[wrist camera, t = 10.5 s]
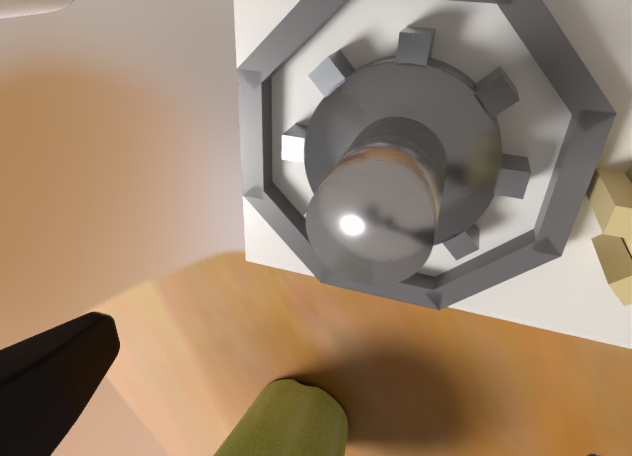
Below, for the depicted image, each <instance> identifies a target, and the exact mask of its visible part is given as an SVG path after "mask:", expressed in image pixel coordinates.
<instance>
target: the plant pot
mask: <svg viewBox="0 0 632 456" xmlns="http://www.w3.org/2000/svg"><path fill="white" fill-rule="evenodd" d="M347 435H348V420H347V417H346V414H345V412H344V410H343V409H342V407H341V406H340V405H339V403H338V402H337V401H336V400H335V399H334V398H333V397H332V396H330V395H329V394H328V393H326V392H325V391H324V390H322V389H320V388H318V387H310V386H305V385H302V384H300V383H298V382H296V381H295V380H293V379H283V380H277V381H274V382H272V383H270V384H268V385H267V386H266V387H265V388H264V389H263V390H262V392H261V393H260V394H259V396H258V397H257V398H256V400H255V401H254V402H253V404H252V405H251V406H250V408H249V409H248V410H247V412H246V413H245V415H244V416H243V417H242V419H241V420H240V421H239V423H238V424H237V425H236V427H235V428H234V429H233V431H232V432H231V433H230V435H229V436H228V437H227V439H226V440H225V441H224V442H223V444H222V445H221V446H220V448H219V449H218V450H217V452H216V453H215V454H214V456H344V455H345V449H346V442H347Z"/></svg>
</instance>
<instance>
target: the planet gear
mask: <svg viewBox="0 0 632 456" xmlns="http://www.w3.org/2000/svg"><path fill="white" fill-rule="evenodd" d="M435 30H436V29H431V28H419V27H407V26H406V27H405V28H404V29H403V30H401V31H400V32H399V40H398V48H397V56H389V57H385V58H381V59H377V60H375V61H372V62H370V63H367V64H365V65H363V66H361V67H360V68H358V69H356V70H355V69H354V68H353V66H352V65H351V64H350V62H349V61H348V60H347V59H346V57H345V56H344V55H343V53H342V52H341V51H340V50H338V51H336V52H334V53H333V54H331V55H329V56H328V57H327V58H326V59H325V60H323V61H322V62H321V63H320V64H319V65H318V66H317V67H316V68H315V69H314V70H313V71H312V72H311V73H310V74H309V75H308V77H309V78H310V79H311V80H312V82H313V83H314V84H315V85H316V87H317V88H318V89H319V90H320V92H321V93H322V94H323V95H324V98H323V99H322V101H321V102H320V103H319V105H318V106H317V108H316V110H315V111H314V113H313V115H312V117H311V120H310V122H309V125H302V124H294V125H293V126H292V127H291V128H289V129H288V130H287V131H286V132H285V133H284V134H282V159H284V160H290V161H296V162H302V163H304V165H305V171H306V175H307V179H308V182H309V185H310V187H311V190H312V192H313V194H314V195H313V197H312V198H311V200H310V203H309V205H308V208H307V210H306V212H305V213H304V216H305V217H306V231H307V235H308V239H309V242H310V244H311V246H312V248H313V250H314V251H315V253H316V254H317V256H318V257H319V258H320V260H321V261H322V262H323V263H324V264H325V265H326V266H327V267H329V268H330V269H331V270H332V271H334V272H335V273H337V274H338V275H340V276H342V277H344V278H346V279H348V280H351V281H353V282H357V283H360V284H365V285H375V286H380V285H389V284H394V283H398V282H401V281H403V280H405V279H407V278H409V277H411V276H412V275H414V274H415V273H416V272H418V271H419V270H420V269H421V268H422V267H423V265H424V264H425V263H426V261H427V260H428V258H429V256H430V254H431V251H432V248H433V246H435V245H438V244H441V243H443V245H444V246H445V247H446V248H447V250H448V251H449V252H450V253H451V255H452V256H453V257H454V258H455V260H456V261H457V260H459V259H461V258H463V257H465V256H467V255H469V254H471V253H473V252H475V251H477V250H479V237H480V230H479V229H478V227H477V226H476V225H475V224H474V223H475V222H476V221H477V220H478V219H479V218H480V217H481V216H482V215H483V213H484V212H485V210H486V209H487V208H488V206H489V205H490V203H491V201H492V199H493V197H494V195H500V196H506V197H512V198H518V199H523V198H524V195H525V191H526V188H527V185H528V182H529V178H530V175H531V170H530V165H529V160H528V157H523V156H516V155H509V154H502V144H501V134H500V127H499V123H498V120H497V116H496V115H498V114H499V113H501V112H503V111H504V110H506V109H507V108H509V107H510V106H512V105H513V104H515V103H516V102H518V101H519V96H518V91H517V89H516V87H515V86H514V84H513V83H512V81H511V80H510V79H509V77H508V76H507V74H506V73H505V71H504V70H503V69H502V67H501V66H499V67H498V68H497V69H495V70H494V71H492V72H491V73H490V74H488V75H487V76H485V77H484V78H483V79H481V80H480V81H478V82H477V83H475V82H474V81H473V80H472V79H470V78H469V77H468V76H467V75H466V74H464V73H463V72H461V71H460V70H458V69H457V68H455V67H453V66H451V65H449V64H447V63H445V62H443V61H439V60H436V59H433V58H431V55H432V48H433V42H434V36H435Z"/></svg>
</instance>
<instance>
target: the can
mask: <svg viewBox="0 0 632 456" xmlns="http://www.w3.org/2000/svg"><path fill="white" fill-rule="evenodd" d="M73 1H74V0H0V18H8V17H16V16H24V15H32V14H39V13H46V12H53V11H57V10H60V9H63V8H65V7H66V6H68V5H69V4H70V3H72V2H73Z"/></svg>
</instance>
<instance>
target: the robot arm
mask: <svg viewBox="0 0 632 456" xmlns="http://www.w3.org/2000/svg"><path fill="white" fill-rule="evenodd" d="M119 349H120V341H119V337H118V333H117V329H116V325H115V321H114V319H113V318H112V317H111V316H110V315H107V314H103V313H100V312H90V313H87V314H85V315H83V316H80V317H78V318H76V319H73V320H71V321H68V322H66V323H64V324H61V325H59V326H56V327H54V328H52V329H49V330H47V331H45V332H42V333H40V334H38V335H35V336H33V337H30V338H28V339H25V340H23V341H21V342H18V343H16V344H14V345H11V346H9V347H6V348H4V349H2V350H0V456H51V454H52V453H53V452H54V450H55V449H56V447H57V446H58V445H59V444H60V442H61V441H62V440H63V438H64V437H65V435H66V434H67V433H68V432H69V430H70V429H71V427H72V426H73V425H74V423H75V422H76V421H77V419H78V418H79V416H80V414H81V413H82V411H83V410H84V408H85V407H86V405H87V403H88V402H89V400H90V399H91V397H92V395H93V394H94V392H95V390H96V389H97V387H98V386H99V384H100V382H101V381H102V379H103V378H104V376H105V374H106V373H107V371H108V370H109V368H110V366H111V365H112V363H113V362H114V360H115V358H116V357H117V355H118V352H119ZM587 456H600V455H596V454H589V455H587Z"/></svg>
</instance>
